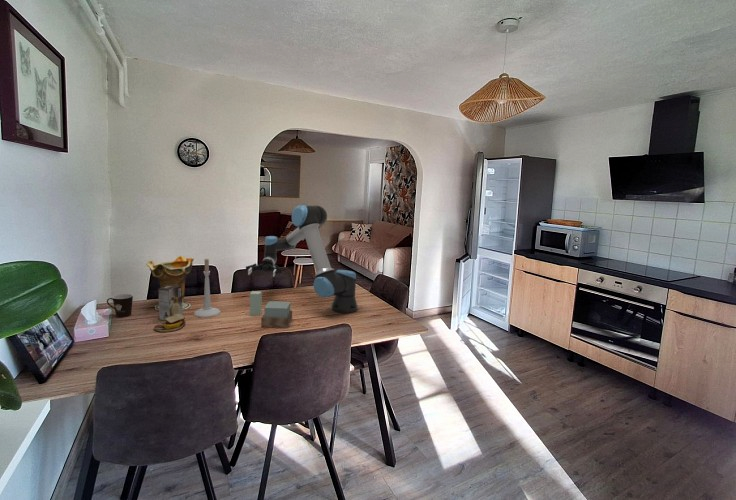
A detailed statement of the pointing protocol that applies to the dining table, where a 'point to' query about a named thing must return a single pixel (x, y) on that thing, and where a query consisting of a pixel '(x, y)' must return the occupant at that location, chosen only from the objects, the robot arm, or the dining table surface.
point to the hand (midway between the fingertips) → (261, 273)
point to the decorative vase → (172, 274)
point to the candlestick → (207, 297)
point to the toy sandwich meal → (171, 323)
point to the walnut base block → (276, 322)
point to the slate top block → (277, 309)
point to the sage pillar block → (256, 303)
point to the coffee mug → (122, 304)
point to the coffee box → (170, 301)
